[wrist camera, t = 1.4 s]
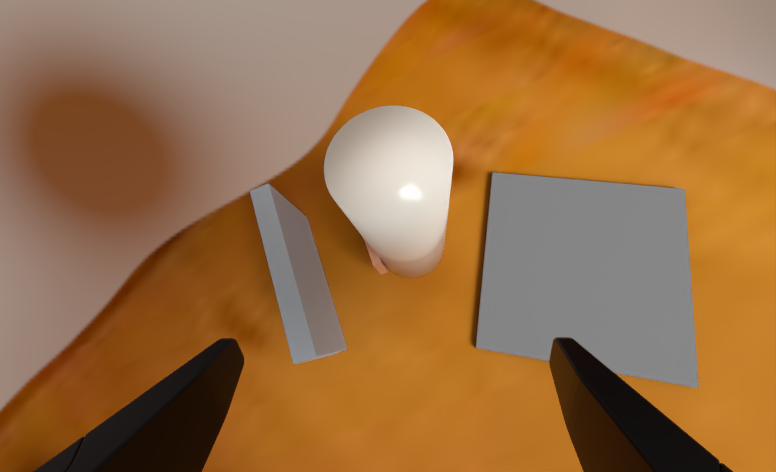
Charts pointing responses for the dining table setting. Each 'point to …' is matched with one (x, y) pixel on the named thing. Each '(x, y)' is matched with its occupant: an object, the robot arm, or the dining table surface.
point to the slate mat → (589, 274)
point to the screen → (297, 278)
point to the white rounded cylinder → (394, 186)
